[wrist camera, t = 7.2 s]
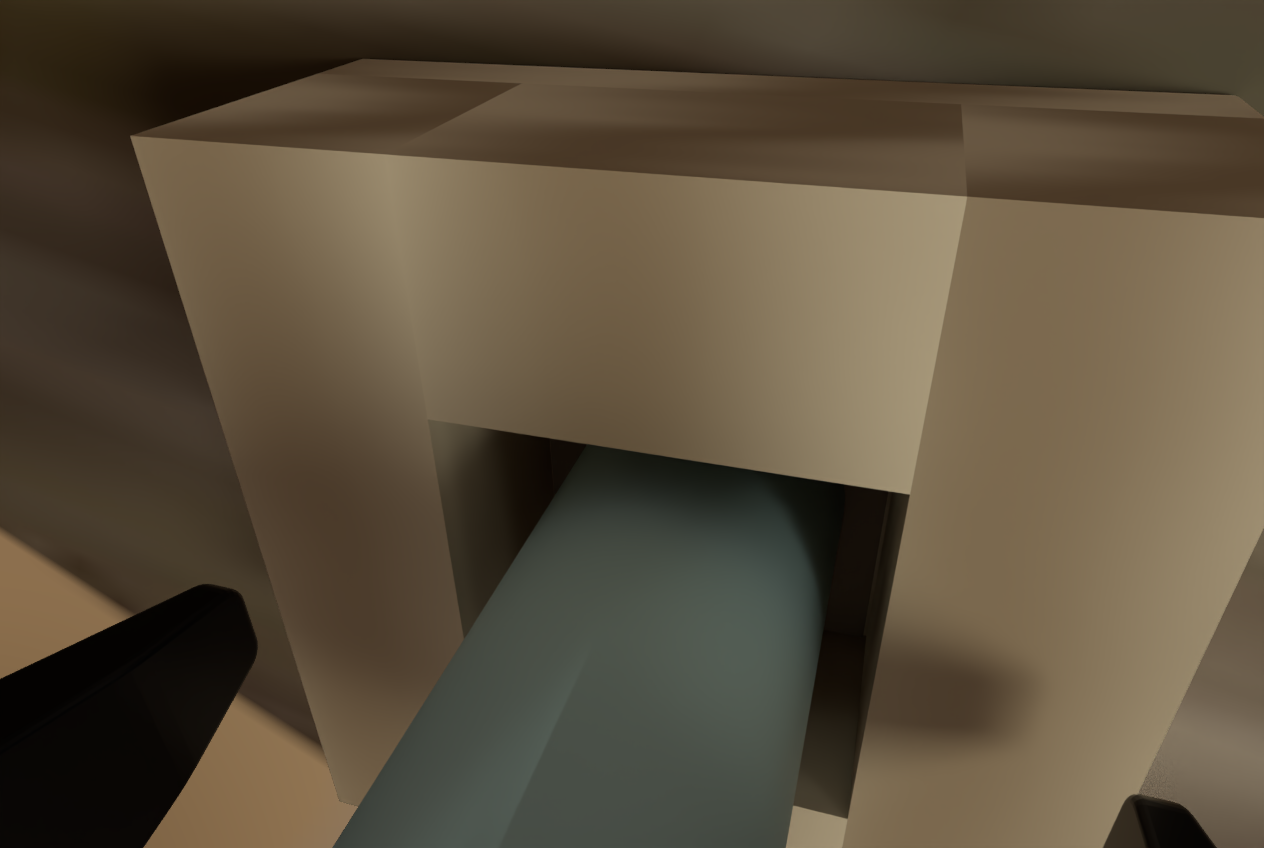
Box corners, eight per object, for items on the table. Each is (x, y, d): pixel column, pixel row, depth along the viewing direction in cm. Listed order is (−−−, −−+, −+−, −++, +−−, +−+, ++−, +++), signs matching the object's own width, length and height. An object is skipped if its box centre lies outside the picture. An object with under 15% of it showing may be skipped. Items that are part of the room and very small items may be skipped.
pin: (862, 393, 10) (650, 1579, 3) (828, 607, 12) (650, 1661, 5) (585, 356, 11) (-59, 1219, 4) (595, 560, 13) (163, 1399, 6)
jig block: (1236, 95, 9) (1405, 229, 6) (1017, 742, 14) (1039, 1001, 11) (362, 58, 11) (130, 135, 8) (457, 619, 17) (339, 801, 13)
